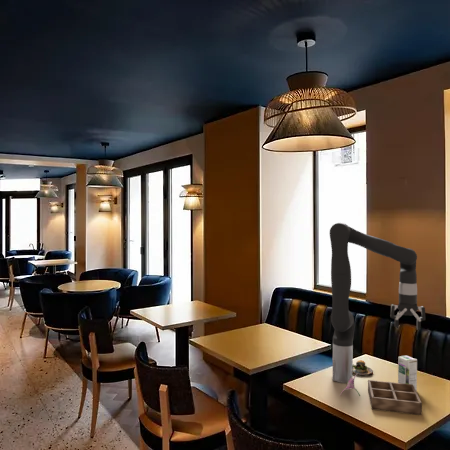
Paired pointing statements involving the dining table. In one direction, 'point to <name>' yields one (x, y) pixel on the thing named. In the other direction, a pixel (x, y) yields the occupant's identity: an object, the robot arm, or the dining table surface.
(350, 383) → the lily
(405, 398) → the caddy
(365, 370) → the burger
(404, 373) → the syrup box
